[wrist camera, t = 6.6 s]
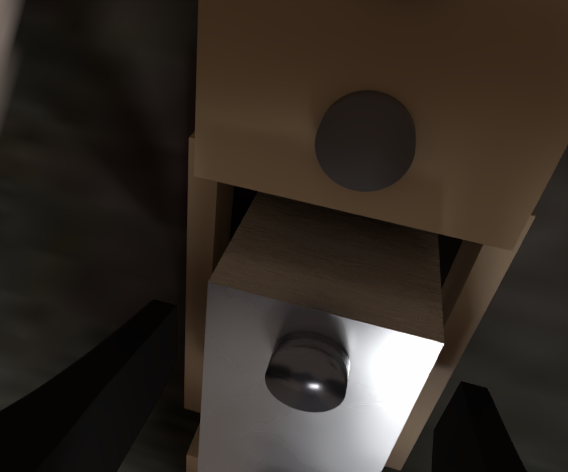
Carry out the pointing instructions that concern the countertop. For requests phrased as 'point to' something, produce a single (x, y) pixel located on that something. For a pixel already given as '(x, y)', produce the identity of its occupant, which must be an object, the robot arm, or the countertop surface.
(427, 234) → the white box with knobs
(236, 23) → the wooden frame
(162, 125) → the countertop surface
